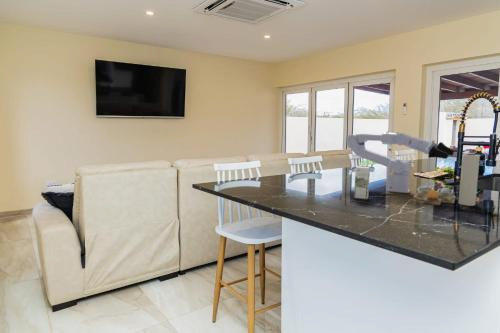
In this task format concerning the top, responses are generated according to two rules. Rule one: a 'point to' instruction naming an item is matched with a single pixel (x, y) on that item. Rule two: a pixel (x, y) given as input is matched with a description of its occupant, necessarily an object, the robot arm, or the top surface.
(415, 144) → the robot arm
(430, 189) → the slate ball
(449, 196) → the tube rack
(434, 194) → the ball orange
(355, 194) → the syrup box
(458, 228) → the top surface
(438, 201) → the stand
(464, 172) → the paper towel roll
